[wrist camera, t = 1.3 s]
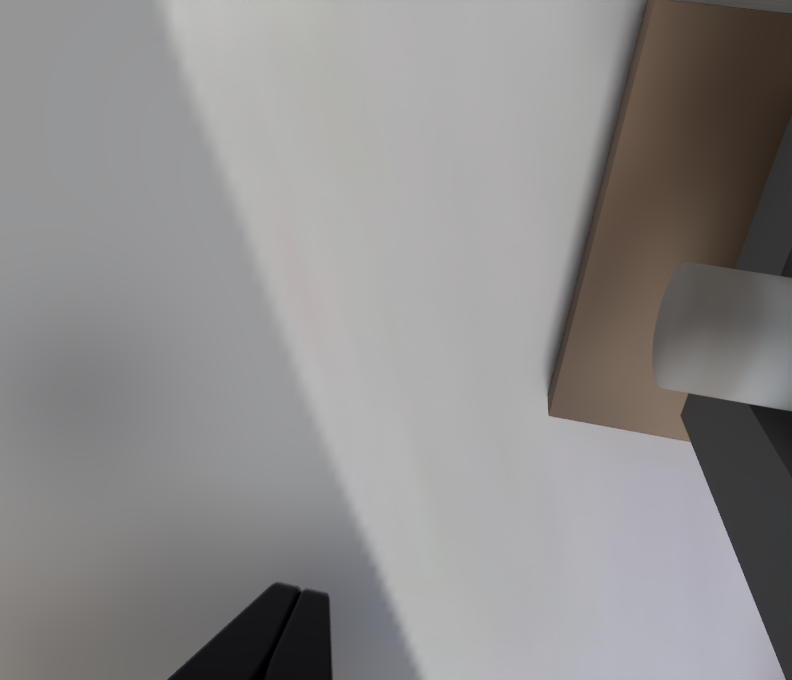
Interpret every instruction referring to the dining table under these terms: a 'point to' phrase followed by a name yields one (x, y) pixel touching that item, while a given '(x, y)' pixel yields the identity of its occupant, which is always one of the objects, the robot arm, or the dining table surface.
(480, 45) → the dining table surface
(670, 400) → the pipe fixture
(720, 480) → the grey flat block
